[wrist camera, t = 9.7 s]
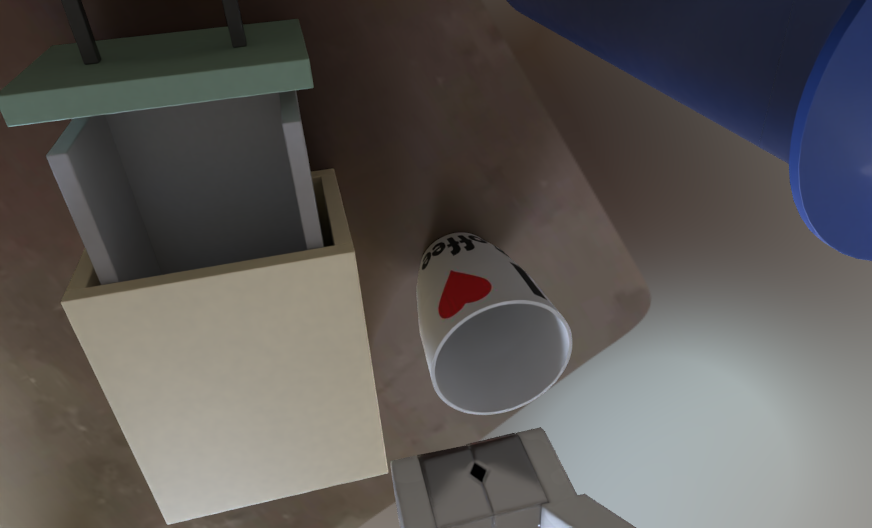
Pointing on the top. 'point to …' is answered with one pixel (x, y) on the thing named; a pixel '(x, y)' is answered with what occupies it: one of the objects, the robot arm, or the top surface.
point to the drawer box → (239, 372)
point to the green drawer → (177, 143)
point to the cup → (487, 327)
